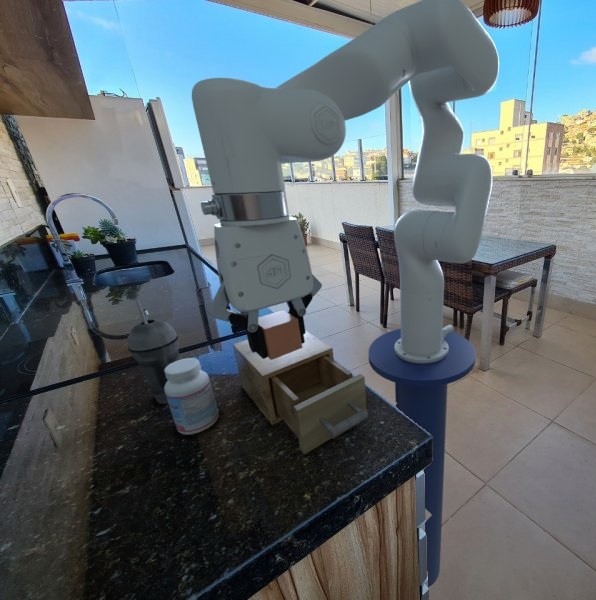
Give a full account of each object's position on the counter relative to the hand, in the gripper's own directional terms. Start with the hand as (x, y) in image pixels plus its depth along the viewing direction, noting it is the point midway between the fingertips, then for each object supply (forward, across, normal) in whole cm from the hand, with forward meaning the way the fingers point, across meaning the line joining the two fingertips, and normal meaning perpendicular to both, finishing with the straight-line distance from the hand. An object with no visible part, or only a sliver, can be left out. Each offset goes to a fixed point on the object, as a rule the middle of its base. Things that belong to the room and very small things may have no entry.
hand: (279, 345), depth 43 cm
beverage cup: (+17, -12, +27) cm, 34 cm away
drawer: (+16, +5, +1) cm, 17 cm away
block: (0, 0, 0) cm, 0 cm away
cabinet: (+17, +5, +13) cm, 22 cm away
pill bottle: (+17, -10, +15) cm, 25 cm away
